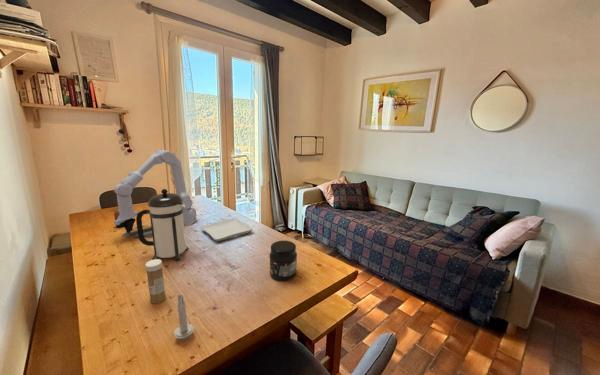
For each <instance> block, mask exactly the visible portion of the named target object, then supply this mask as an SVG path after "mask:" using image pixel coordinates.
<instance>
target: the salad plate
mask: <svg viewBox="0 0 600 375" xmlns="http://www.w3.org/2000/svg"><path fill="white" fill-rule="evenodd" d="M200 229H201V230H202V231H204V232H205V233H206V234H208V235H209V236H210V237H211V238H212V239H213V240H214V241H215V242H222V241H224V240H229V239H232V238H236V237H238V236H242V235H245V234H248V233H251V231H253V229H254V228H253V227H251V226H250V225H248V224H246V223H245V222H243V221H241V220H240V219H239V218H236V217H234V218H229V219H224V220H221V221H217V222H216V221H215V222H212V223H209V224H205V225H201V226H200Z"/></svg>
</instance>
